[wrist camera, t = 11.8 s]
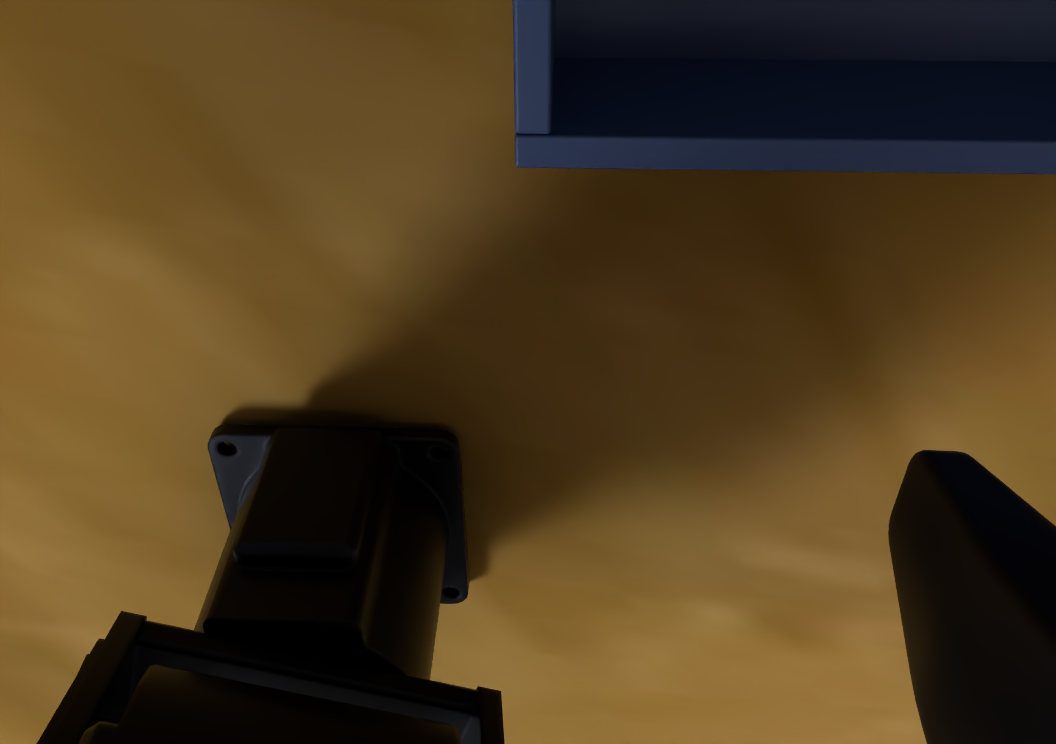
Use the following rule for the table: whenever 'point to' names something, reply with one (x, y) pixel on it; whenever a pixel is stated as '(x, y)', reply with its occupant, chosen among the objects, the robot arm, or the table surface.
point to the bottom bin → (786, 85)
